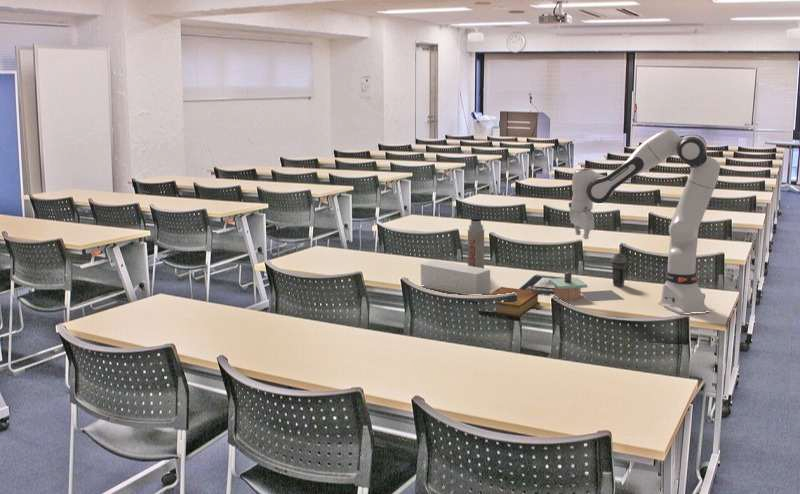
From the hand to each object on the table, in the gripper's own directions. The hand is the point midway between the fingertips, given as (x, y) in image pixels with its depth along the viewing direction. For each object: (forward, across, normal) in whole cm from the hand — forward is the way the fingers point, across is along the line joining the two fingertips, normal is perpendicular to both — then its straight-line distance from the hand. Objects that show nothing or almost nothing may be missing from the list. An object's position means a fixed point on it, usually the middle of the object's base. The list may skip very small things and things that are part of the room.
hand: (581, 236), depth 360 cm
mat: (+27, -4, -8) cm, 28 cm away
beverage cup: (+27, +11, -22) cm, 36 cm away
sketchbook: (+27, +18, +9) cm, 34 cm away
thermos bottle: (+26, +47, +37) cm, 65 cm away
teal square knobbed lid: (+21, -2, +7) cm, 22 cm away
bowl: (+26, -2, +7) cm, 28 cm away
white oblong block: (+26, +23, +53) cm, 63 cm away
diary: (+27, -11, +36) cm, 46 cm away
